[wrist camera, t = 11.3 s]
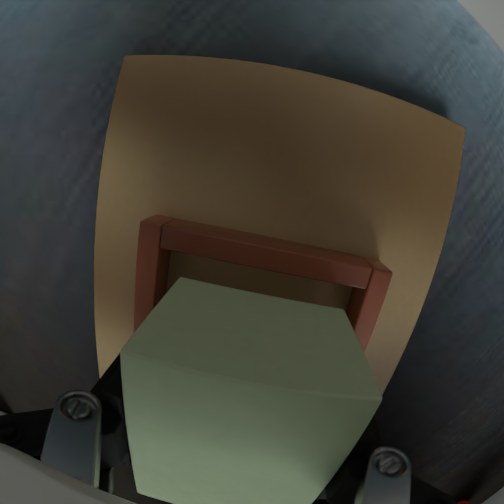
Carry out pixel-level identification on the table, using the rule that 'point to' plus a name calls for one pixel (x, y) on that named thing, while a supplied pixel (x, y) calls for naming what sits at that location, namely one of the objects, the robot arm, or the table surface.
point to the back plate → (270, 196)
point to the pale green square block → (242, 397)
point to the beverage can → (463, 502)
